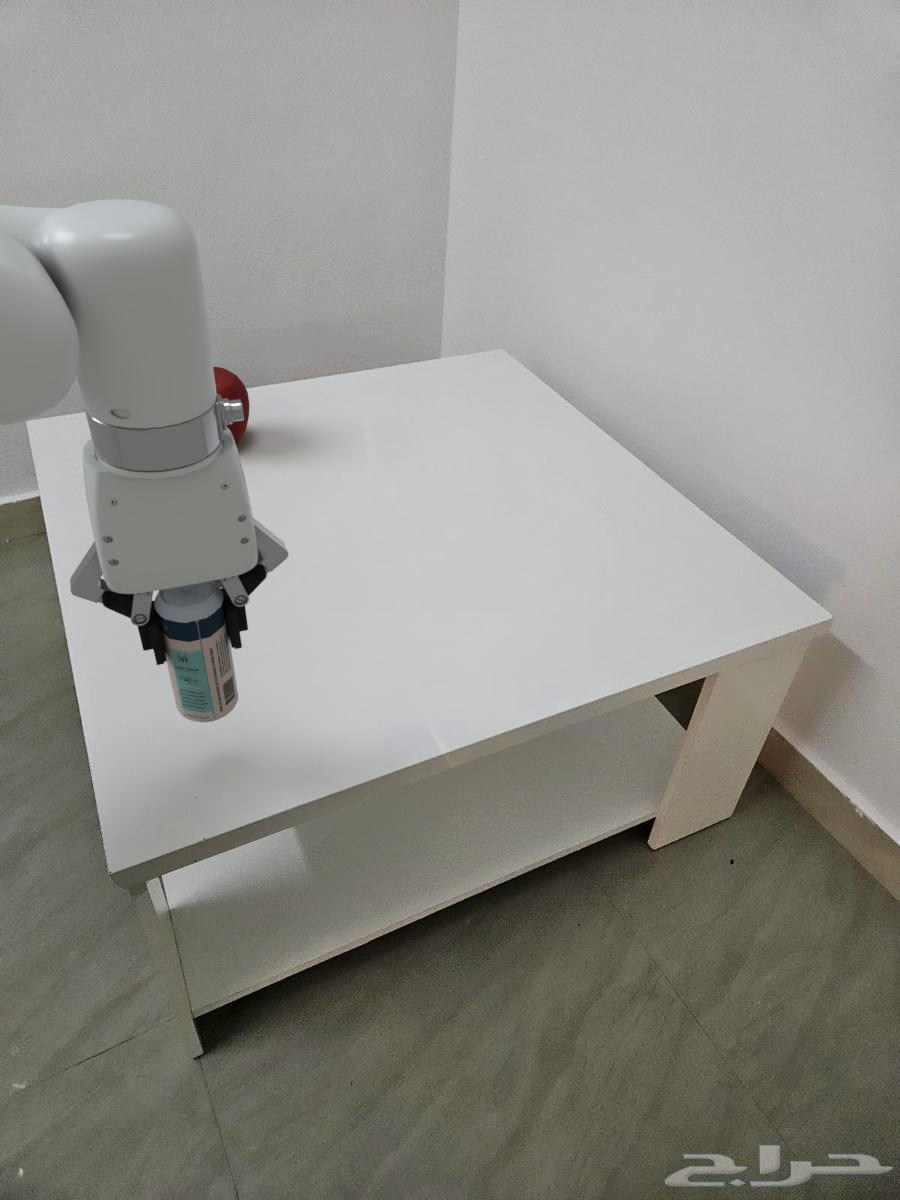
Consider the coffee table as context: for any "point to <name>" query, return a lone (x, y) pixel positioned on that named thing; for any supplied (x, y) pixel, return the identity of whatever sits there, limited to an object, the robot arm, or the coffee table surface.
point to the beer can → (197, 650)
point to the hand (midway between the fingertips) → (196, 642)
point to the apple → (233, 398)
